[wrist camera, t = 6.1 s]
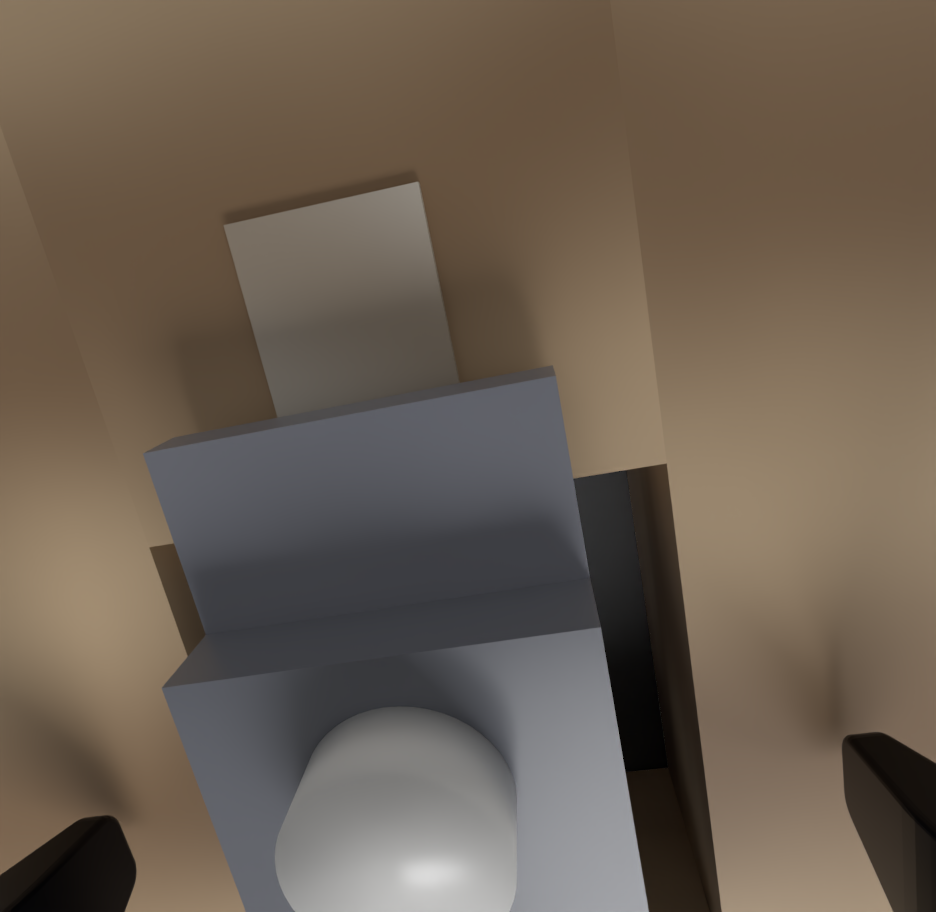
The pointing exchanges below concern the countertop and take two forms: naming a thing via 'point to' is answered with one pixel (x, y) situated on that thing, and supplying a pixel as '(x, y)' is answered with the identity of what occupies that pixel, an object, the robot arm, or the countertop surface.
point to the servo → (400, 658)
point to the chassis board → (485, 366)
